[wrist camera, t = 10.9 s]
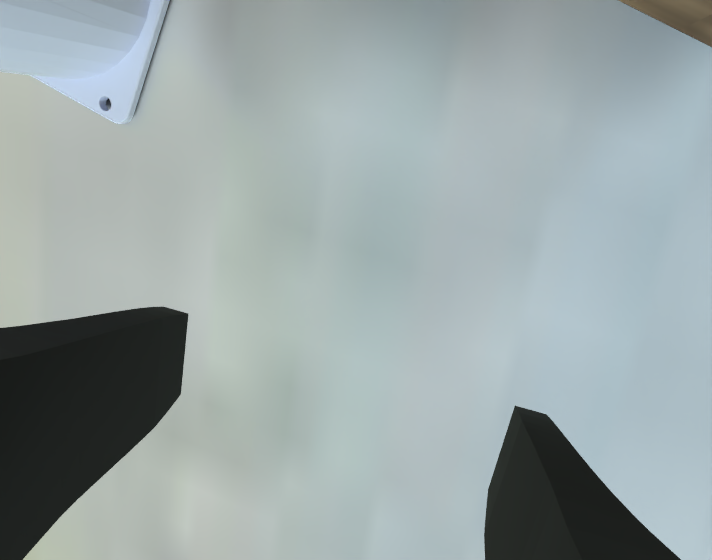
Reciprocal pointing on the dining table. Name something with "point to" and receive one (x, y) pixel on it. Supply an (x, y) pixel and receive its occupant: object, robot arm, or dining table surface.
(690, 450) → the dining table surface
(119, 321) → the robot arm
